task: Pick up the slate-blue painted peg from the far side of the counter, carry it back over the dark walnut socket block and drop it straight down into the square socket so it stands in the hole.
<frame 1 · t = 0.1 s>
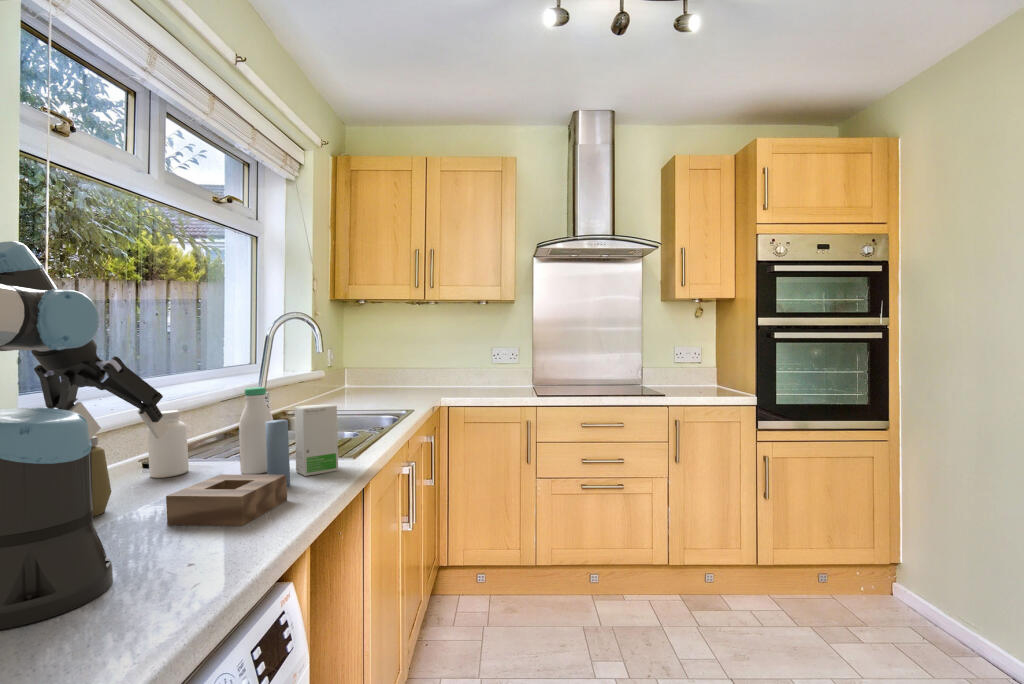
hand: (128, 433, 97), 15 cm above the countertop, tool tilted 35°, fingers open, 13 cm apart
socket block: (230, 511, 99), on the countertop
skincare box: (317, 472, 128), on the countertop
peg: (279, 486, 115), on the countertop
milk bottle: (258, 471, 130), on the countertop
pill bottle: (169, 475, 129), on the countertop
squeeze bottle: (85, 516, 100), on the countertop
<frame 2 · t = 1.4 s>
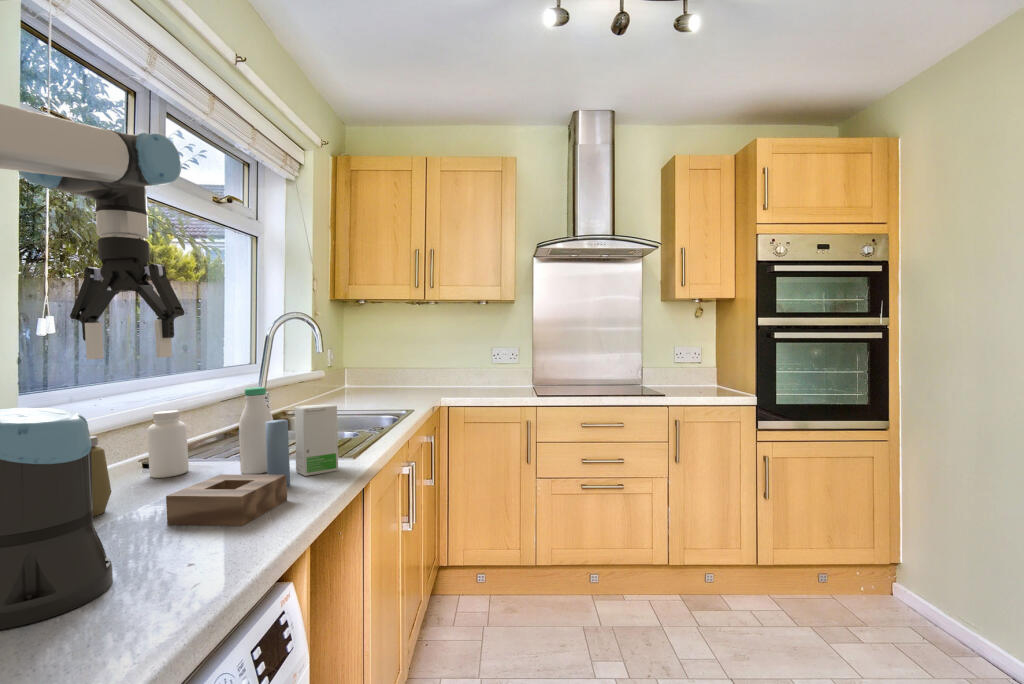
hand: (129, 358, 97), 29 cm above the countertop, tool pointing down, fingers open, 13 cm apart
nothing on the countertop moved.
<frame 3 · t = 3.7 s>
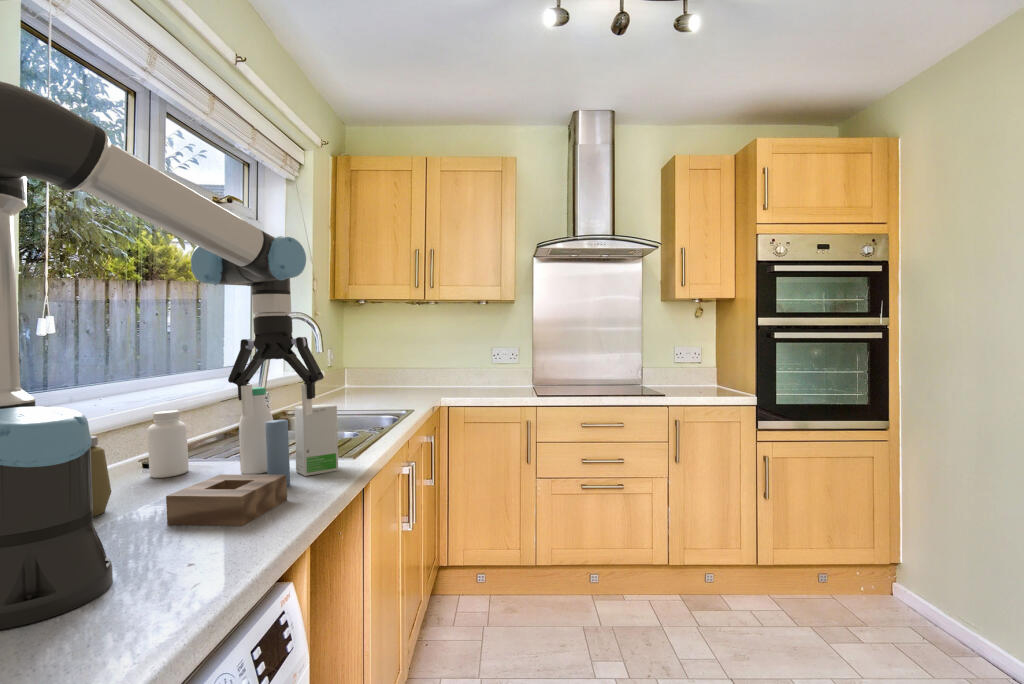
hand: (277, 415, 115), 15 cm above the countertop, tool pointing down, fingers open, 13 cm apart
nothing on the countertop moved.
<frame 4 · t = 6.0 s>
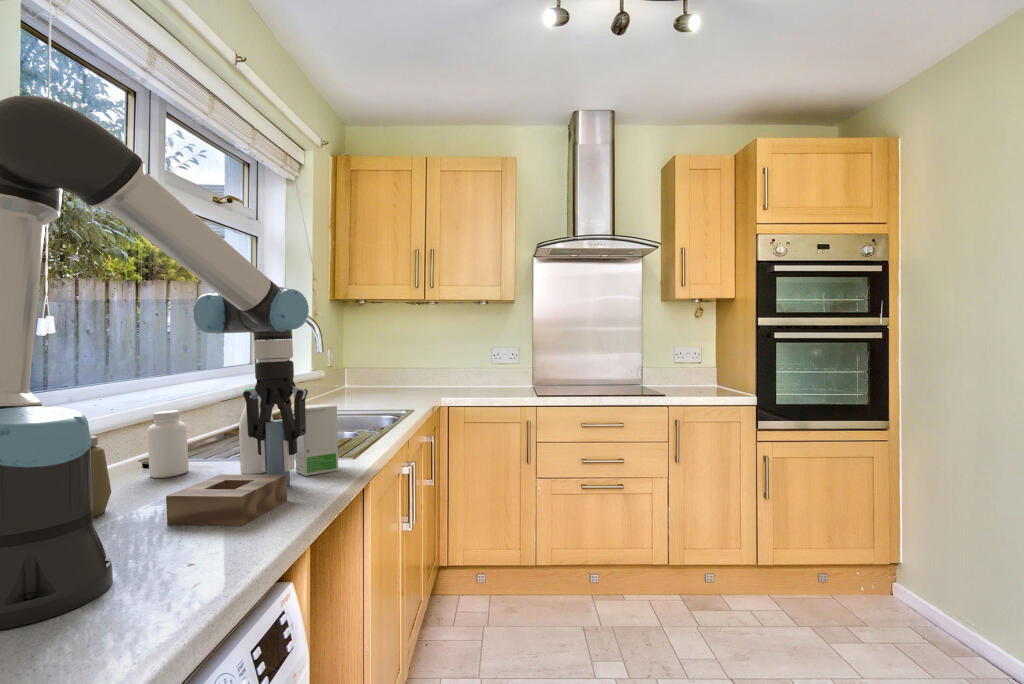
hand: (278, 469, 115), 4 cm above the countertop, tool pointing down, fingers closed on peg, 4 cm apart
peg: (279, 486, 115), on the countertop, touching gripper
everything else where it was.
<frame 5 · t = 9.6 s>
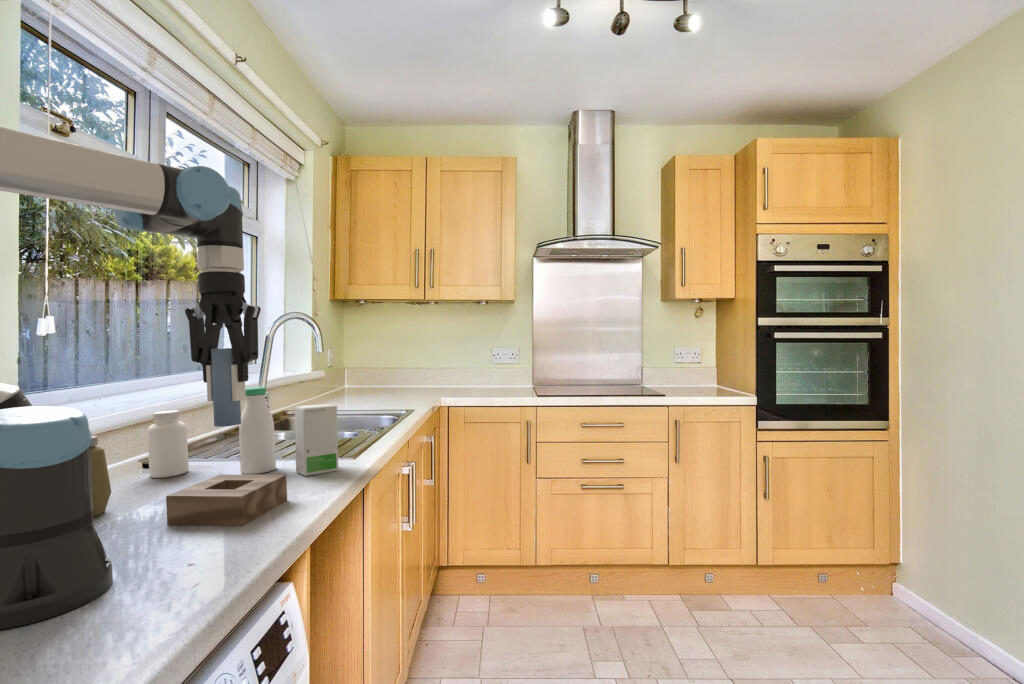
hand: (226, 399, 99), 21 cm above the countertop, tool pointing down, fingers closed on peg, 4 cm apart
peg: (227, 424, 99), point 16 cm above the countertop, touching gripper
everything else where it was.
when the fingers open (7 cm above the countertop, at t = 13.4 s): peg drops 1 cm, resting in socket block.
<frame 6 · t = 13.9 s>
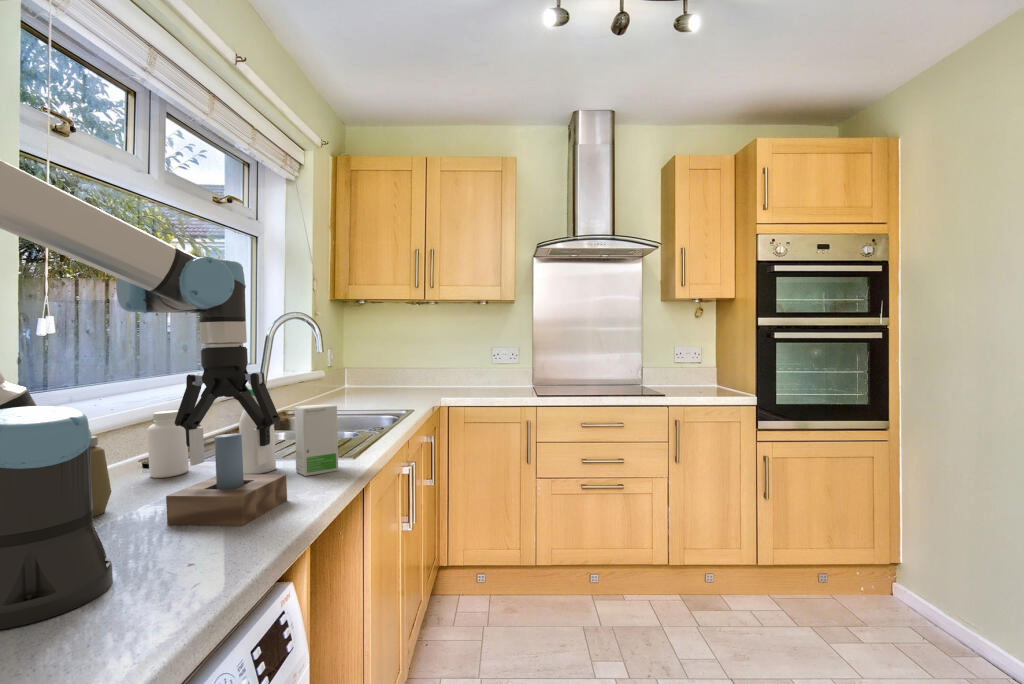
hand: (228, 463, 99), 9 cm above the countertop, tool pointing down, fingers open, 12 cm apart
peg: (231, 511, 99), resting in socket block
everything else where it was.
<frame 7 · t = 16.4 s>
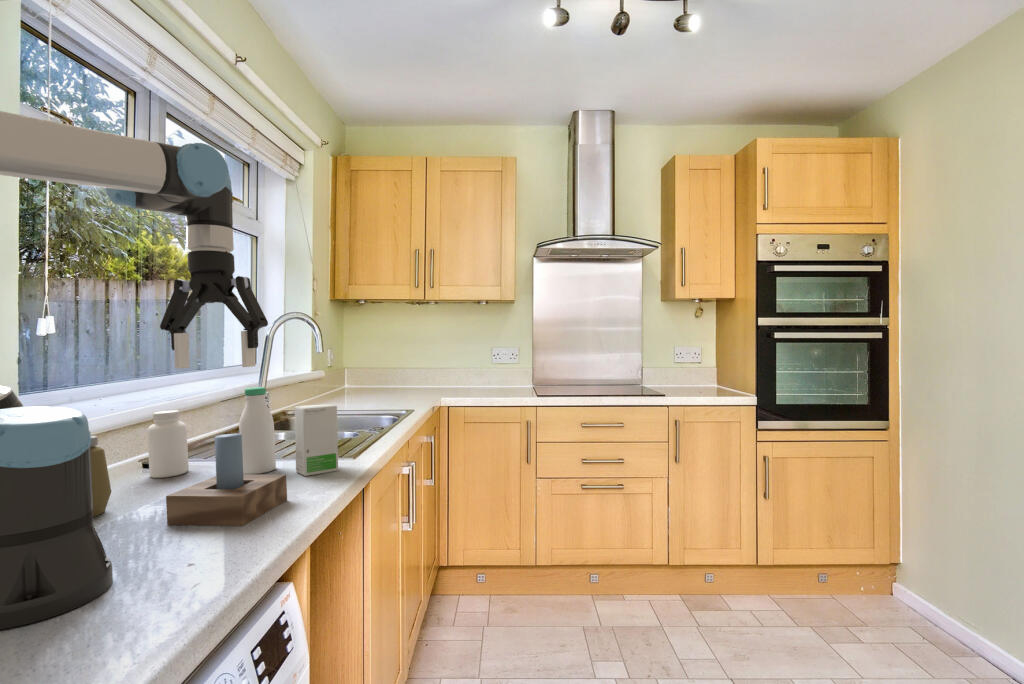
hand: (215, 367, 100), 27 cm above the countertop, tool pointing down, fingers open, 13 cm apart
nothing on the countertop moved.
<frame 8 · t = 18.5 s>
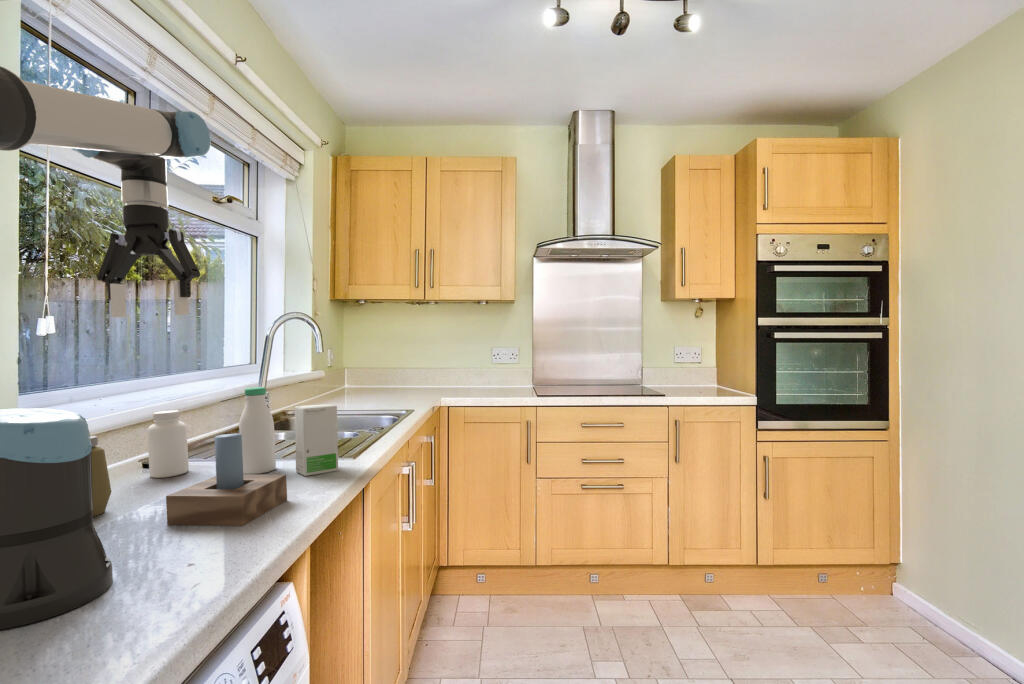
hand: (150, 316, 106), 37 cm above the countertop, tool pointing down, fingers open, 13 cm apart
nothing on the countertop moved.
at the end: peg 0.1 cm off-centre on the socket block, point 0.0 cm above the socket block's base; peg tilted 0°; the gripper is holding nothing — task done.
